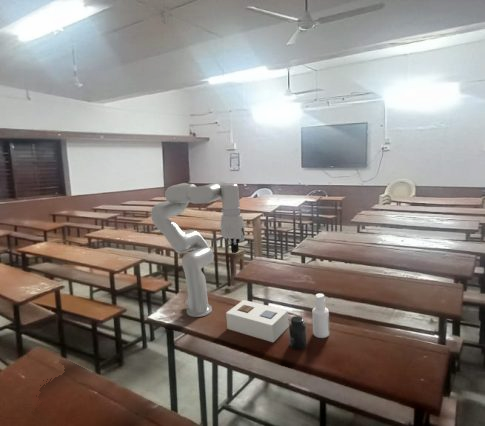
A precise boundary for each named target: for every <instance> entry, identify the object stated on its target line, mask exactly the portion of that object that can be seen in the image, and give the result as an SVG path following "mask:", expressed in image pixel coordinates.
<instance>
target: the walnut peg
mask: <svg viewBox="0 0 485 426" xmlns="http://www.w3.org/2000/svg"><path fill="white" fill-rule="evenodd" d="M252 309H253V307H251V306H247V305H243V306H242V307H241V308H239V309H238V311H241V312H245V313H248V312H250V311H251V310H252Z"/></svg>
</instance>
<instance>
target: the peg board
mask: <svg viewBox="0 0 485 426" xmlns="http://www.w3.org/2000/svg"><path fill="white" fill-rule="evenodd" d="M243 305H247V306H251V307H253V309H252V310H251V311H250V312H248V313H245V312H241V311H238V309H239V308H241V307H242V306H243ZM266 310H268V311H272V312H276V315H275V316H274V317H273V318H272V319H268V318H264V317H261V316H260V315H261V314H262V313H264V312H265V311H266ZM225 315H226V316H225V317H226V325H227V330H230V331H233V332H237V333H241V334H243V335H247V336H250V337H254V338H257V339H260V340H264V341H266V342H270V343H274V342H276V341H277V340H278V338H279V337H281V335H282V334H283V333H284V332H285V331H286V330H287V329H289V325H290V322H289V310H287V309H283V308H279V307H275V306H271V305H266V304H263V303H262V304H261V303H260V302H259V303H257V302H254V301H250V300H245V299H243V300H241V301H240V302H239V303H237V304H236V305H235V306H233V307H231V309H229V310H228V311H226V312H225Z"/></svg>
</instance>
